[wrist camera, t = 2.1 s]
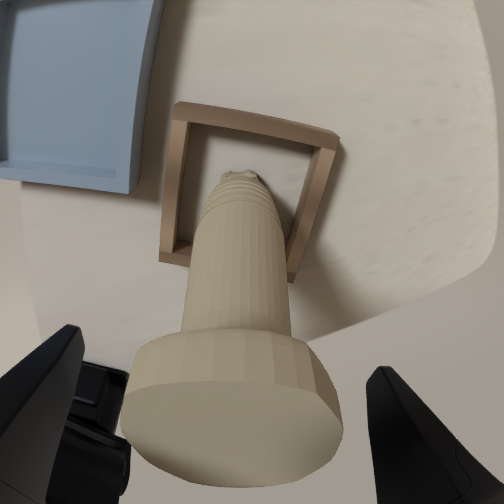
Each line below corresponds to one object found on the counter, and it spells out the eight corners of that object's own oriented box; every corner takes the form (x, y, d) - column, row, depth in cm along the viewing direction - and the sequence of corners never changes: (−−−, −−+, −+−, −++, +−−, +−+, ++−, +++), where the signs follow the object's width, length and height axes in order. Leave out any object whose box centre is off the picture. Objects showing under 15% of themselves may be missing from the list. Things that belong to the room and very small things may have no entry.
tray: (139, 181, 18) (128, 194, 17) (-3, 166, 17) (-19, 176, 15) (171, -26, 12) (162, -36, 10) (9, -6, 10) (-10, -7, 9)
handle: (207, 241, 21) (170, 484, 8) (193, 143, 17) (74, 373, 5) (283, 237, 21) (321, 481, 8) (280, 137, 17) (368, 368, 5)
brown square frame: (290, 269, 22) (293, 282, 21) (163, 248, 21) (158, 261, 20) (333, 131, 17) (340, 137, 16) (180, 101, 16) (174, 104, 15)
